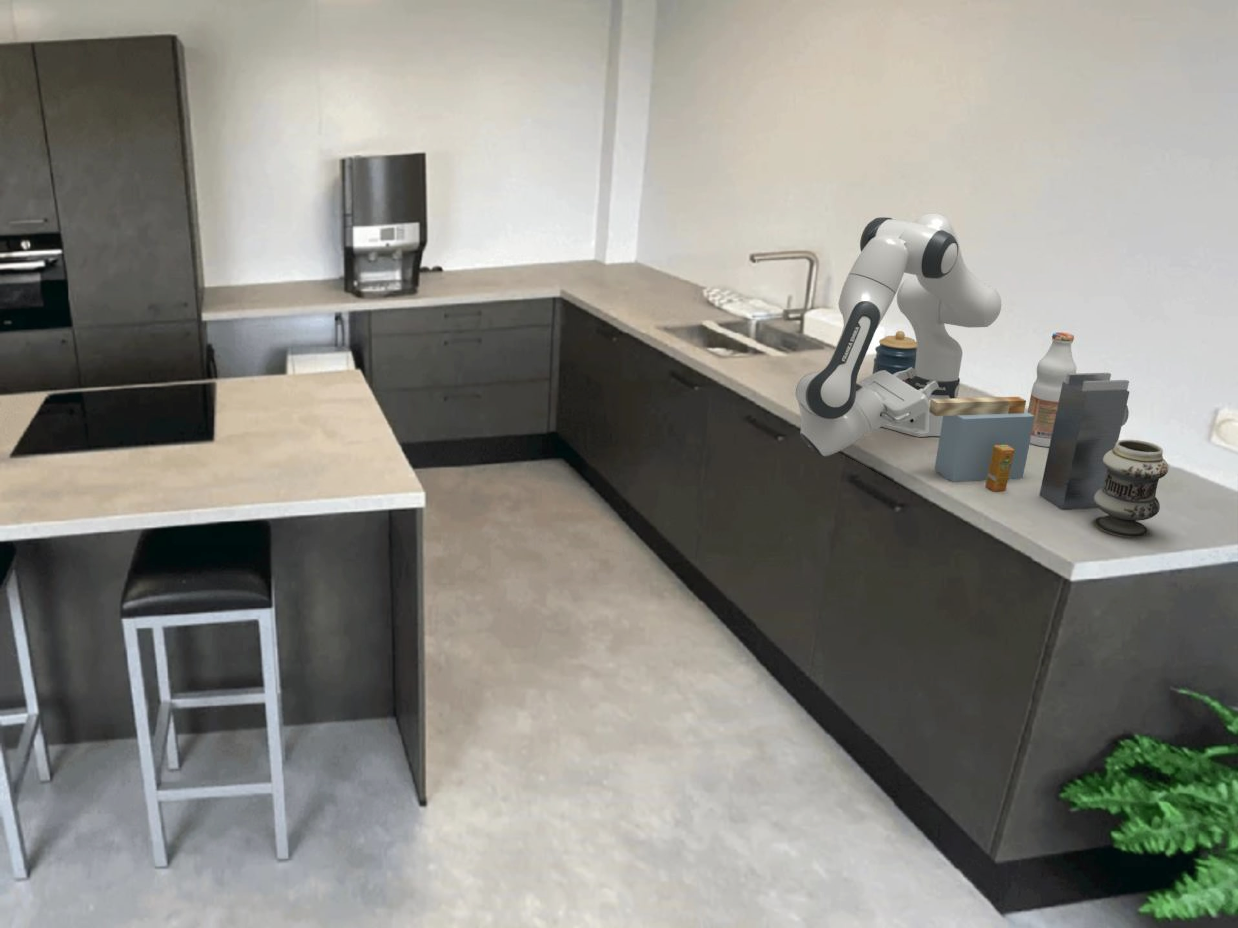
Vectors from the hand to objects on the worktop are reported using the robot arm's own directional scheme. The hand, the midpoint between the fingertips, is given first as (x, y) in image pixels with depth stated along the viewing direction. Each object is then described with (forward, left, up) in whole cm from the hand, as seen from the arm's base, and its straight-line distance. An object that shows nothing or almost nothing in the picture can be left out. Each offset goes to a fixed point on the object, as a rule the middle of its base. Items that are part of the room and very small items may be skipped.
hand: (925, 376), depth 217 cm
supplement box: (+18, +5, -24) cm, 30 cm away
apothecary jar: (+44, -2, -24) cm, 50 cm away
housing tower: (+33, +7, -24) cm, 41 cm away
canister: (-26, +68, -24) cm, 77 cm away
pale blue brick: (+12, +12, -24) cm, 29 cm away
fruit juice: (+20, +46, -24) cm, 56 cm away
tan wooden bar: (+10, +10, -9) cm, 17 cm away
